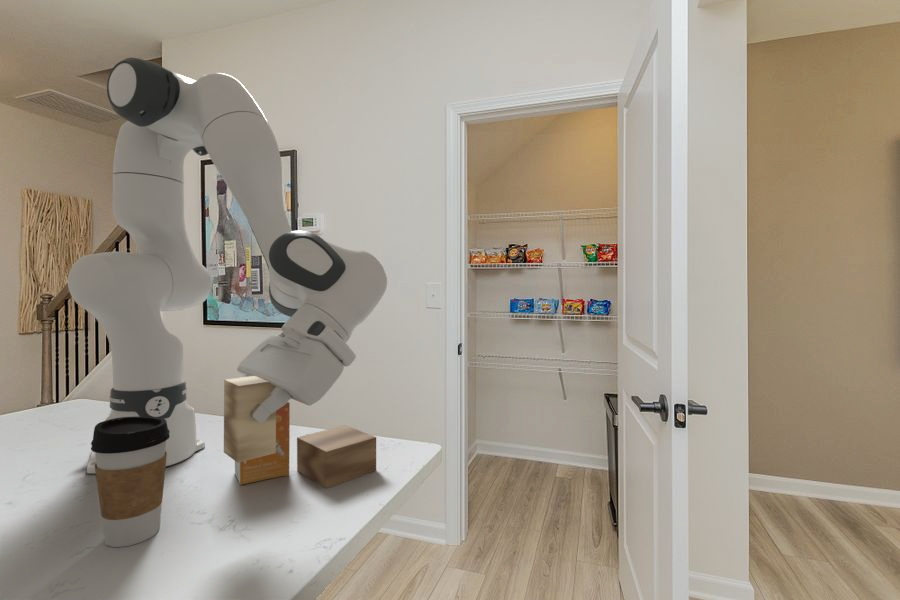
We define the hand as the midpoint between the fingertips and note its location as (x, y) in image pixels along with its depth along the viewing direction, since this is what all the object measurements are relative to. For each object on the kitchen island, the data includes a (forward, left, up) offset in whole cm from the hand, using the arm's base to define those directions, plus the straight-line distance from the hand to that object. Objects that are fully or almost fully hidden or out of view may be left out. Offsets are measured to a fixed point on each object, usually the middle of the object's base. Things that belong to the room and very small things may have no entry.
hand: (245, 414), depth 60 cm
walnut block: (-8, +19, -15) cm, 26 cm away
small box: (-16, +9, -16) cm, 24 cm away
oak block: (0, +1, -5) cm, 5 cm away
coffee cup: (-9, -11, -16) cm, 21 cm away
